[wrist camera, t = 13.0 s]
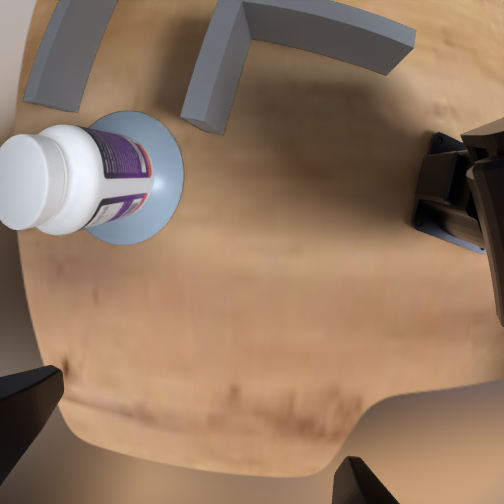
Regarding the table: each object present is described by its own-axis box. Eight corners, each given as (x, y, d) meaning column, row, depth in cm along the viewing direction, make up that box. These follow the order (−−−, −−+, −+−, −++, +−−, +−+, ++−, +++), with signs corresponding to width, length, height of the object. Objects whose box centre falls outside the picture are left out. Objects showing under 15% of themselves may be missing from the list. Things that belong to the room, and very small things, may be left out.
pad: (199, 122, 19) (198, 121, 18) (168, 259, 21) (166, 260, 21) (84, 106, 19) (82, 105, 19) (62, 226, 21) (59, 227, 21)
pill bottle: (94, 133, 19) (-11, 117, 10) (163, 141, 19) (72, 116, 9) (82, 210, 20) (-22, 234, 11) (149, 225, 20) (55, 261, 11)
